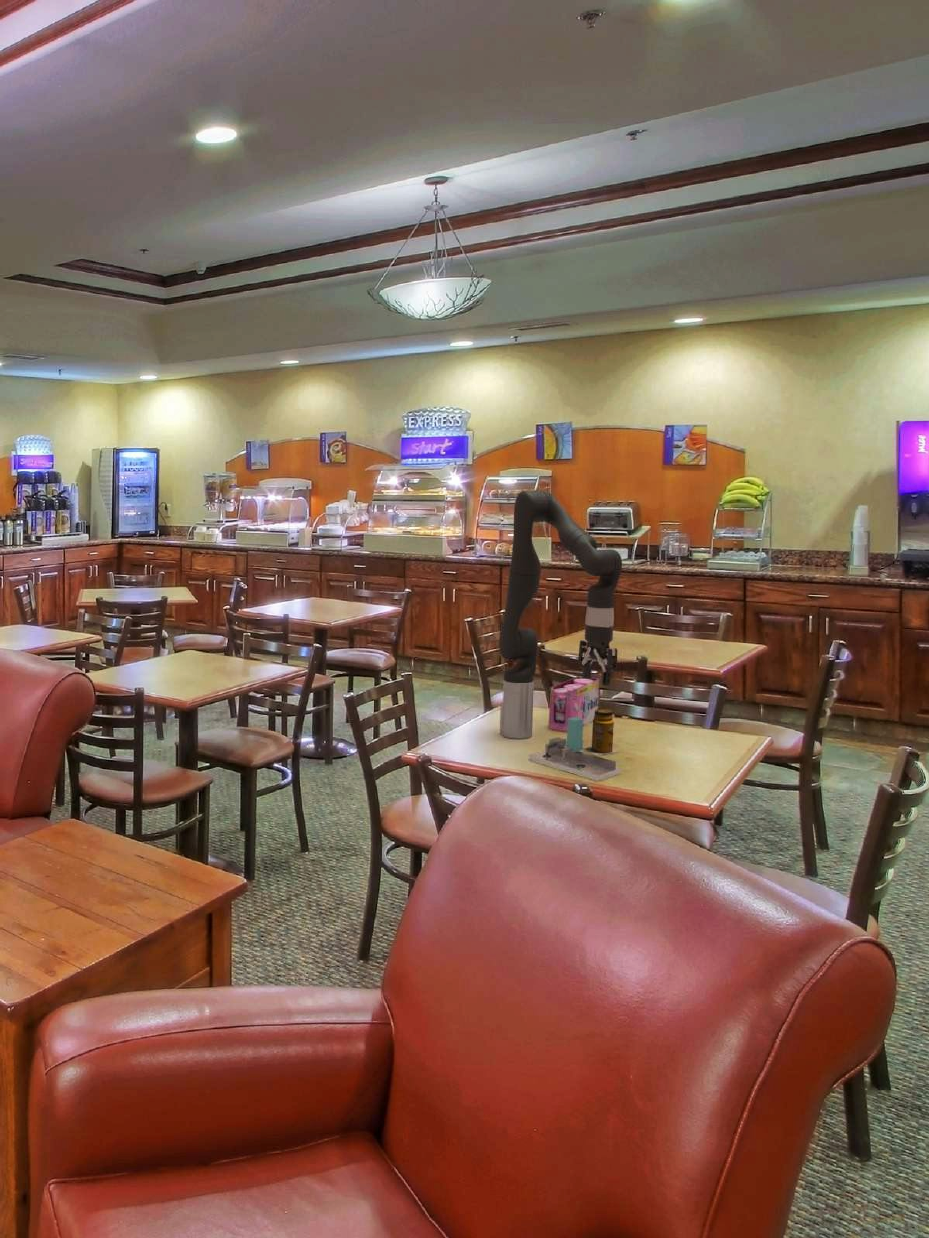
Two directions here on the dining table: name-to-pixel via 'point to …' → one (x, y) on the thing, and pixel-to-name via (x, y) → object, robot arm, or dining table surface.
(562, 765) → the hole plate
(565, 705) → the gum box
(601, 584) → the robot arm
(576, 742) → the leg
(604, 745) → the condiment
